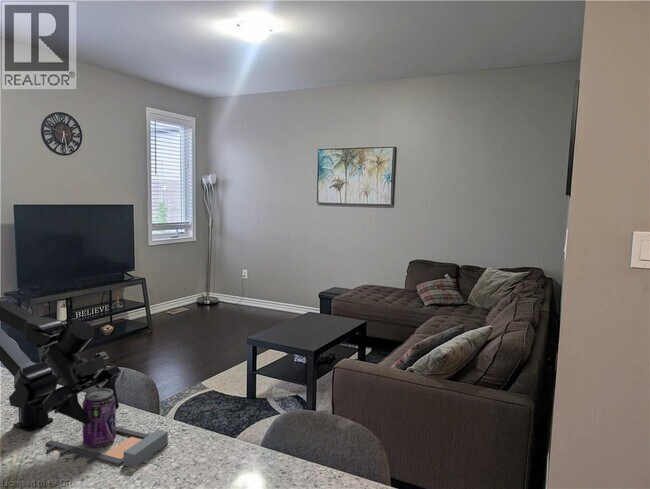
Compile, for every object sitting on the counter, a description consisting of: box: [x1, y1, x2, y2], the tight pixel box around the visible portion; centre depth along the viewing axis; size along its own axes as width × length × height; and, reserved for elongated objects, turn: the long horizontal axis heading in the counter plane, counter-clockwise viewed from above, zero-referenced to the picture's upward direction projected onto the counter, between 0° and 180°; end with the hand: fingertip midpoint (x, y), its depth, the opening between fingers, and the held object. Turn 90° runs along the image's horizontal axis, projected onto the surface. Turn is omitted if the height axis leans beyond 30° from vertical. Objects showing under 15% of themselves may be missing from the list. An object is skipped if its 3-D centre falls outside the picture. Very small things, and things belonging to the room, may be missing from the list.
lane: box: [45, 426, 169, 469], centre depth 109 cm, size 26×14×3 cm, turn 70°
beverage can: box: [82, 388, 117, 448], centre depth 110 cm, size 7×7×12 cm
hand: (103, 415), depth 109 cm, fingers open, 8 cm apart
